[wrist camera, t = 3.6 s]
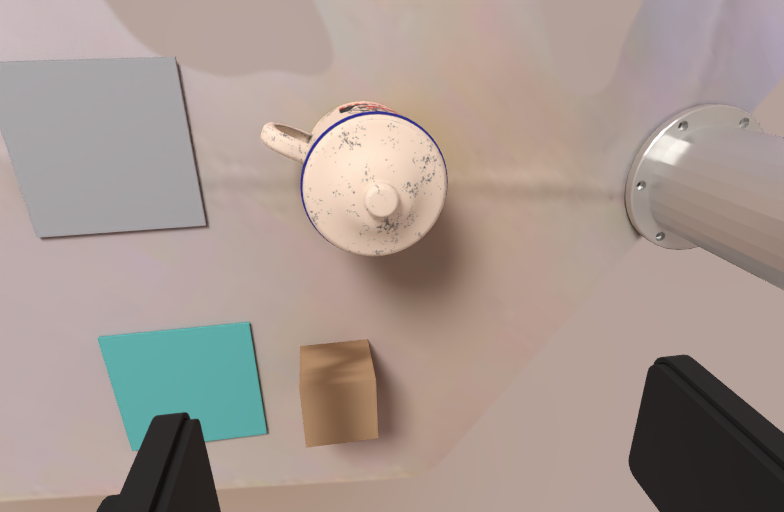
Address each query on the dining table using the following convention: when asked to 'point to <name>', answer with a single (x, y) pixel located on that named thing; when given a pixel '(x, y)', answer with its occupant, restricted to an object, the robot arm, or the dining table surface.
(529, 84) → the dining table surface
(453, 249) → the dining table surface
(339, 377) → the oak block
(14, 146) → the grey mat
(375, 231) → the teacup with lid
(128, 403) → the teal mat
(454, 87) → the dining table surface
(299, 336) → the dining table surface
